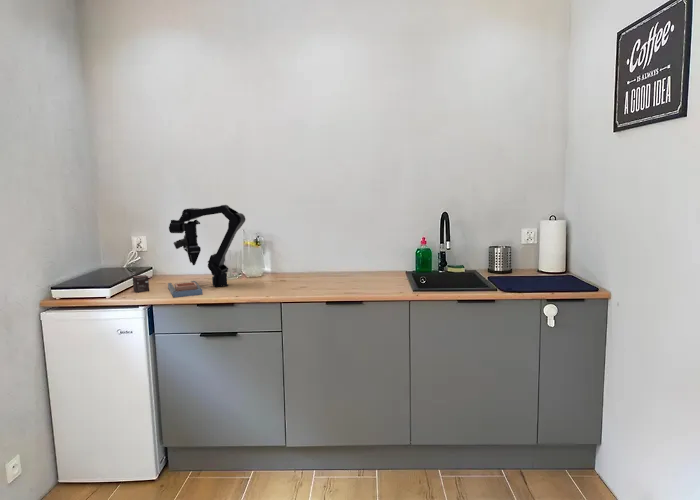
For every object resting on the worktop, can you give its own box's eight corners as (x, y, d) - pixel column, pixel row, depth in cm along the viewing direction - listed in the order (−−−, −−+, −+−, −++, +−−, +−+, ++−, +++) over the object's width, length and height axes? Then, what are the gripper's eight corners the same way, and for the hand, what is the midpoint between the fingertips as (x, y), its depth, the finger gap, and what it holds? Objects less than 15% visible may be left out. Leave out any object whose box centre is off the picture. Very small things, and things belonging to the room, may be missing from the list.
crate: (194, 290, 250) (194, 282, 249) (197, 293, 243) (196, 285, 242) (175, 292, 246) (174, 283, 245) (177, 295, 239) (176, 286, 238)
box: (136, 292, 247) (135, 277, 246) (133, 290, 251) (132, 276, 250) (149, 291, 250) (148, 276, 249) (146, 289, 255) (145, 274, 254)
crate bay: (195, 285, 262) (194, 280, 262) (202, 294, 241) (202, 289, 241) (168, 288, 256) (167, 283, 256) (173, 297, 236) (173, 292, 235)
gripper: (172, 232, 264) (173, 262, 267) (176, 236, 248) (178, 267, 250) (194, 231, 269) (196, 260, 271) (199, 234, 252) (201, 266, 254)
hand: (192, 263), depth 261 cm, fingers open, 9 cm apart
